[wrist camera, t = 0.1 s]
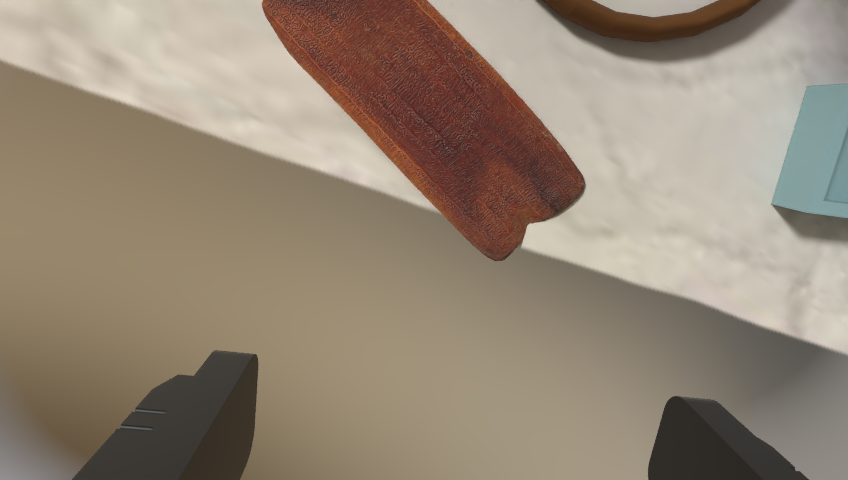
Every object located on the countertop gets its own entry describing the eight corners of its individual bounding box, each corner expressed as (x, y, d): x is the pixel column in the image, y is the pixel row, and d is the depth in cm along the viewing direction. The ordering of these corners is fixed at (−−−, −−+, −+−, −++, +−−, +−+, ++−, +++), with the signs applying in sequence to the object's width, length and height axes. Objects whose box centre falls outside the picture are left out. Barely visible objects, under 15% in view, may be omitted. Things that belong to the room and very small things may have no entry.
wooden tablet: (589, 180, 39) (598, 183, 38) (494, 266, 40) (499, 273, 39) (342, -105, 34) (340, -116, 32) (241, 6, 35) (234, 1, 33)
